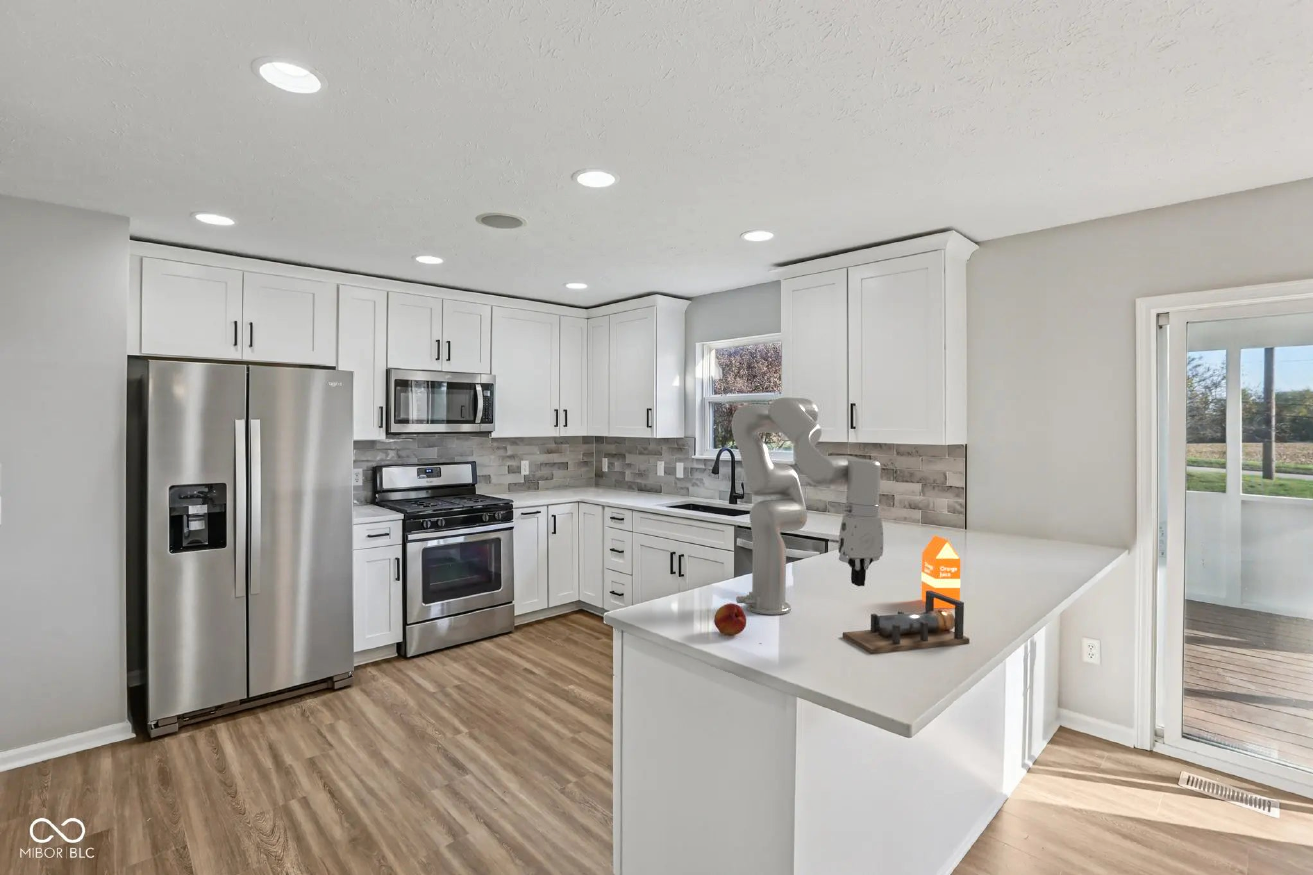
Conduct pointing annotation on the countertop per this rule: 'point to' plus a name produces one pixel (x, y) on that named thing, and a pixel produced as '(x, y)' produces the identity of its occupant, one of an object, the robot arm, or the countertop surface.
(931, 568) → the orange juice
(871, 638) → the board
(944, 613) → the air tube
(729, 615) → the fruit
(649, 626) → the countertop surface
